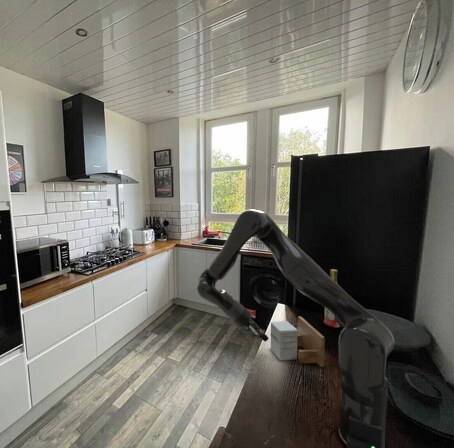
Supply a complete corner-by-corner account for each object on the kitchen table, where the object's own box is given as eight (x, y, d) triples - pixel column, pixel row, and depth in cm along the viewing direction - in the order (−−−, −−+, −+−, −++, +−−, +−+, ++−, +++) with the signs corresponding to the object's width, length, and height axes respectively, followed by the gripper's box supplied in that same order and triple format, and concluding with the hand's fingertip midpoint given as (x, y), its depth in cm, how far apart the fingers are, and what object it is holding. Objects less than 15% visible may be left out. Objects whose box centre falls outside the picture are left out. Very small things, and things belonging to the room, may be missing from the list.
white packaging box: (269, 349, 104) (270, 321, 103) (286, 348, 105) (287, 320, 103) (279, 361, 97) (279, 331, 96) (297, 359, 98) (298, 329, 96)
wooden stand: (303, 367, 93) (303, 338, 92) (282, 342, 109) (282, 316, 107) (323, 367, 93) (324, 337, 91) (300, 342, 109) (300, 316, 107)
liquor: (319, 323, 123) (320, 268, 119) (331, 321, 124) (333, 267, 121) (332, 330, 116) (334, 273, 112) (345, 328, 117) (347, 271, 113)
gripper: (248, 313, 92) (280, 342, 93) (237, 298, 106) (266, 324, 107) (234, 326, 93) (266, 355, 94) (225, 310, 106) (254, 336, 107)
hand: (266, 339), depth 100 cm, fingers closed
